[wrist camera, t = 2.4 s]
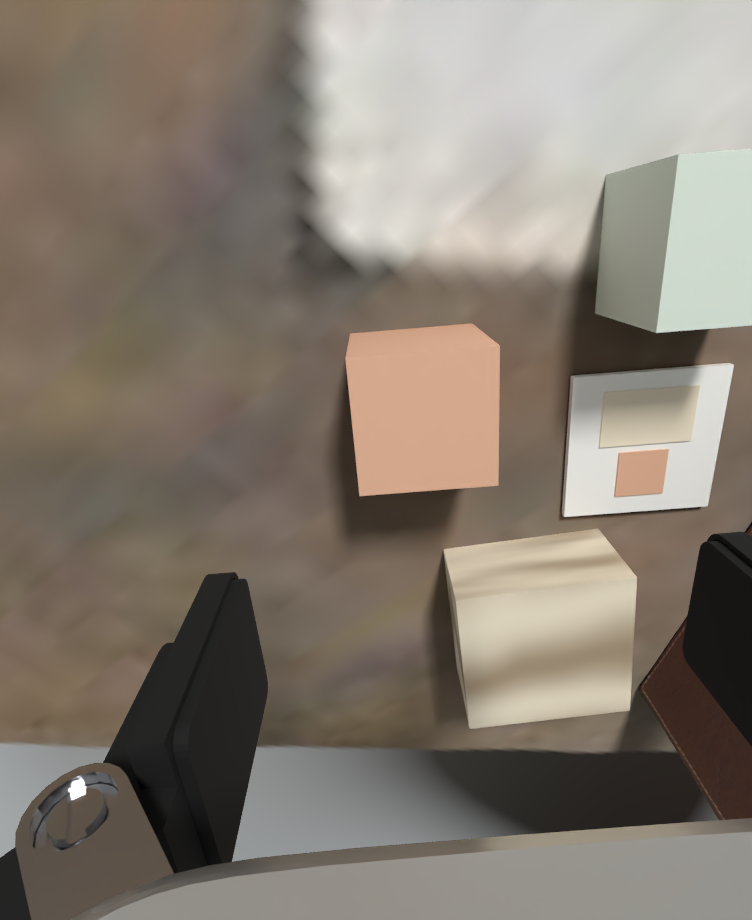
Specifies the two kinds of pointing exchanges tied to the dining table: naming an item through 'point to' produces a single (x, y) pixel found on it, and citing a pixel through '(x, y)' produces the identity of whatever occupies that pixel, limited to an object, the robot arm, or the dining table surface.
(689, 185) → the sage cube
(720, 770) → the letter holder
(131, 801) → the robot arm
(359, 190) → the dining table surface
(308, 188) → the dining table surface
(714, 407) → the card
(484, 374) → the terracotta cube
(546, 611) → the birch block
